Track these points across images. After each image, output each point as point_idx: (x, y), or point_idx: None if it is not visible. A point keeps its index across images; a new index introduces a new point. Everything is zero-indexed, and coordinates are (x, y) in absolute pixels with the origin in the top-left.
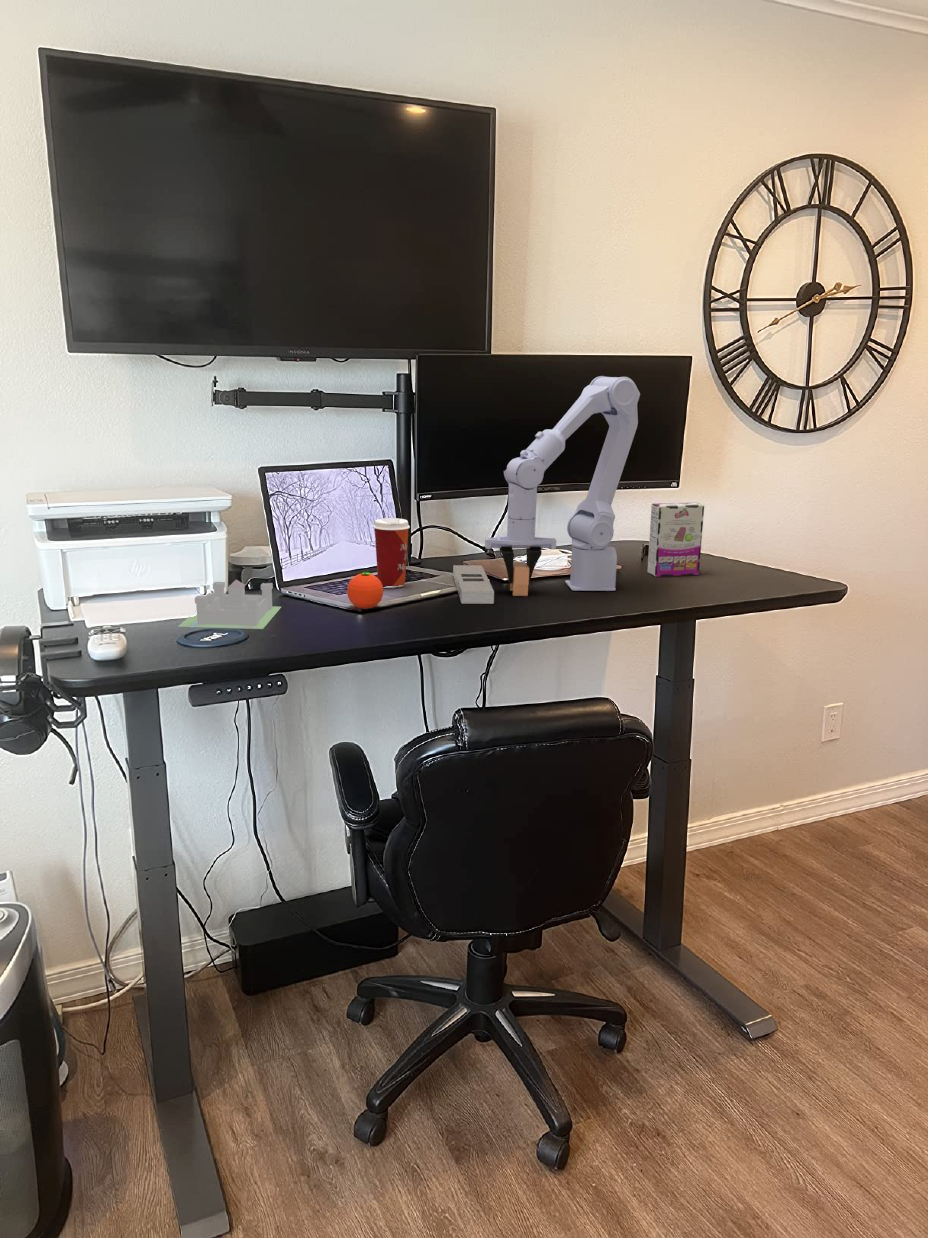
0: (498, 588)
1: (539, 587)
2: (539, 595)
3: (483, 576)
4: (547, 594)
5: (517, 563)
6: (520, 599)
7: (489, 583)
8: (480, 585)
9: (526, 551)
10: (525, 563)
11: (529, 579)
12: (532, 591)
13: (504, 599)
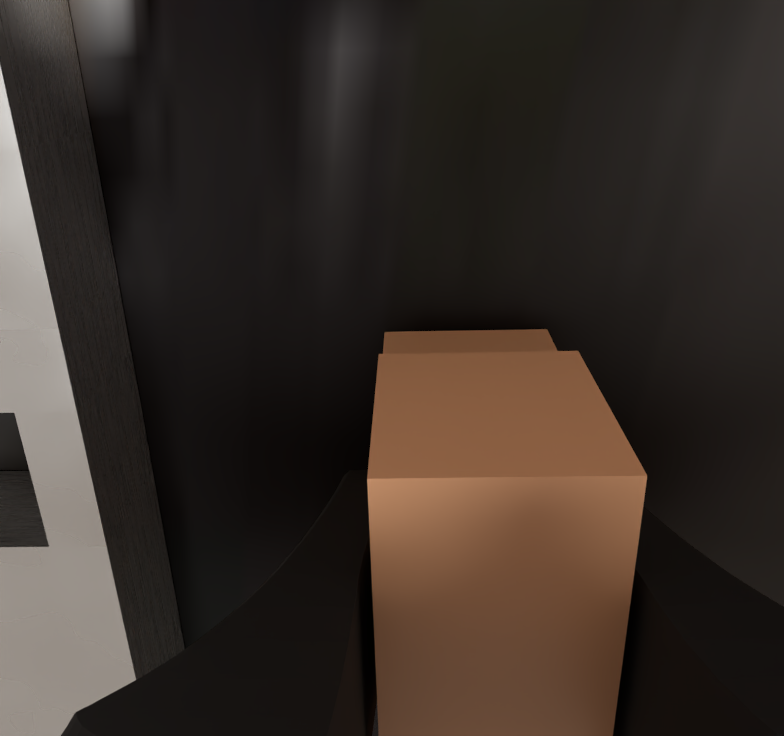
0: (255, 270)
1: (769, 206)
2: None
3: (3, 307)
4: (749, 504)
5: (471, 627)
6: None
7: (116, 634)
8: (28, 702)
9: (737, 704)
10: (615, 622)
11: None
12: (626, 393)
13: None
